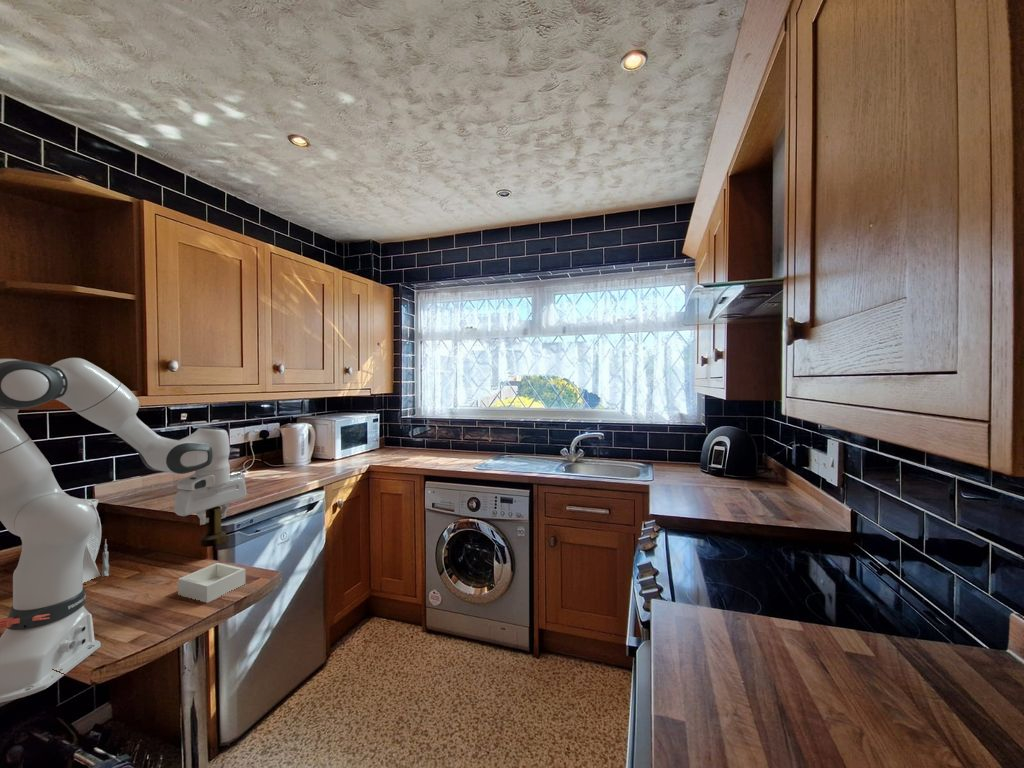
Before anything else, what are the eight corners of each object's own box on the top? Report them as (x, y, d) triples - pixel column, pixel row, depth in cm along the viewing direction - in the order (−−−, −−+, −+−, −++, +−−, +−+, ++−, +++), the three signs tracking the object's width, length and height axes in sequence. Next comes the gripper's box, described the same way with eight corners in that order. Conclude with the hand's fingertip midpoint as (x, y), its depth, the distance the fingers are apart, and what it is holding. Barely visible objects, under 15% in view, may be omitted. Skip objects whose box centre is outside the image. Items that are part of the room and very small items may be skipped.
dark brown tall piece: (204, 540, 131) (204, 484, 131) (228, 537, 133) (228, 482, 133) (197, 548, 125) (197, 490, 124) (222, 545, 127) (222, 488, 127)
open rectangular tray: (207, 603, 121) (207, 586, 121) (178, 594, 125) (178, 578, 125) (245, 584, 132) (245, 568, 132) (217, 577, 137) (217, 562, 137)
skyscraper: (80, 588, 129) (80, 500, 129) (60, 585, 131) (60, 499, 130) (110, 575, 138) (111, 493, 137) (91, 573, 139) (91, 492, 139)
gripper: (237, 469, 139) (237, 509, 140) (170, 484, 120) (171, 530, 120) (250, 471, 137) (251, 511, 138) (184, 486, 118) (185, 533, 118)
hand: (213, 520), depth 129 cm, fingers closed on dark brown tall piece, 4 cm apart
